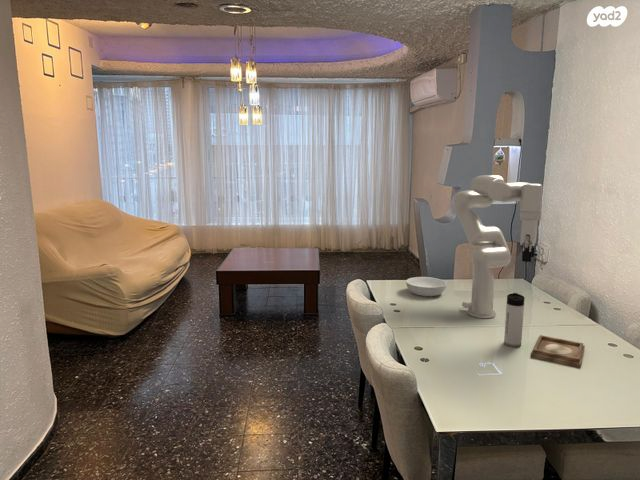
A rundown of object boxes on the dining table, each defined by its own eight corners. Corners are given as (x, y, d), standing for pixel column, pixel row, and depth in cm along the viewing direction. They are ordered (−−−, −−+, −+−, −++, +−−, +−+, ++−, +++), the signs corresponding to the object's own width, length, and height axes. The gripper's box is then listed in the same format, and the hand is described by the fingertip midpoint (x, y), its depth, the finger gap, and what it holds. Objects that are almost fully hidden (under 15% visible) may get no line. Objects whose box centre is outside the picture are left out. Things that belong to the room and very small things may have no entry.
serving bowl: (450, 300, 234) (451, 287, 233) (409, 300, 235) (409, 287, 233) (440, 288, 255) (441, 276, 253) (402, 288, 255) (403, 276, 254)
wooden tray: (530, 357, 169) (531, 350, 168) (538, 340, 183) (538, 333, 183) (580, 367, 160) (581, 360, 160) (584, 349, 175) (585, 342, 174)
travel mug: (520, 341, 182) (524, 293, 179) (521, 348, 176) (525, 298, 173) (503, 339, 185) (506, 292, 181) (504, 346, 178) (507, 297, 175)
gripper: (522, 213, 187) (520, 254, 189) (516, 217, 172) (514, 262, 175) (543, 213, 183) (540, 256, 186) (538, 218, 168) (536, 264, 171)
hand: (528, 259), depth 180 cm, fingers open, 9 cm apart
